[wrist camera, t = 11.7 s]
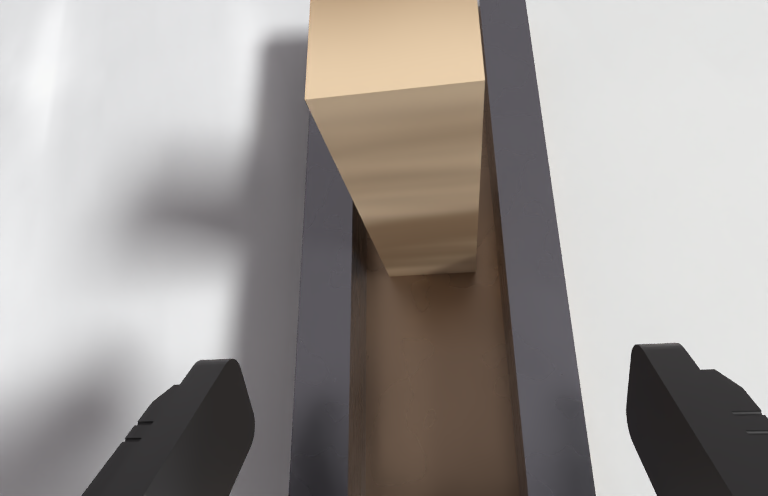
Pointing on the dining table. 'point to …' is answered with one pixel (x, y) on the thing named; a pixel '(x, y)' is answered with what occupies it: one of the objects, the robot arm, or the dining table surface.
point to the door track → (444, 327)
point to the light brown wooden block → (403, 122)
